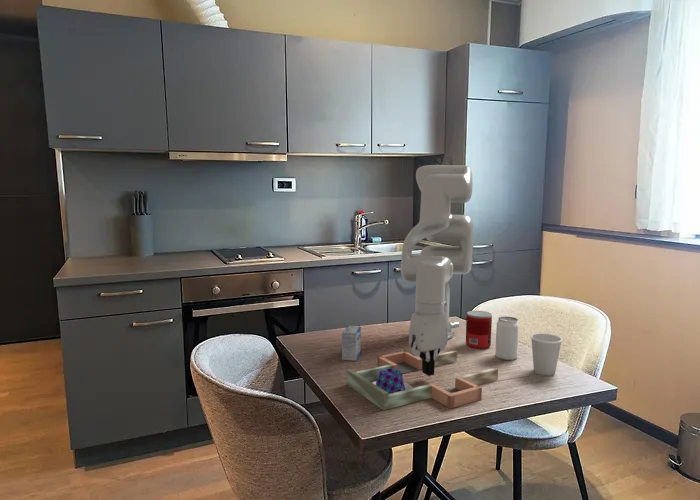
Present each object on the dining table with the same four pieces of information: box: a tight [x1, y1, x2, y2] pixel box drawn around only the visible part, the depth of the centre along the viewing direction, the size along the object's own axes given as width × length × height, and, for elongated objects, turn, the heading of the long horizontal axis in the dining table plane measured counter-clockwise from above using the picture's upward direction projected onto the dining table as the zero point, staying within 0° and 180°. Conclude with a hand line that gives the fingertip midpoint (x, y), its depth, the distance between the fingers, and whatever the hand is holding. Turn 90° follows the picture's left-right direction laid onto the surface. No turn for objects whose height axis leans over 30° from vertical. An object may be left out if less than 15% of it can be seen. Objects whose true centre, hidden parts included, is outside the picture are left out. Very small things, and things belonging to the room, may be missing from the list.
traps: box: [376, 350, 483, 409], centre depth 134 cm, size 10×31×3 cm, turn 30°
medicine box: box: [341, 325, 362, 362], centre depth 153 cm, size 8×4×9 cm, turn 168°
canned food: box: [465, 310, 493, 350], centre depth 163 cm, size 8×8×11 cm
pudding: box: [371, 369, 414, 394], centre depth 128 cm, size 12×12×5 cm
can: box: [495, 316, 520, 361], centre depth 153 cm, size 6×6×12 cm
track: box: [346, 350, 499, 411], centre depth 134 cm, size 37×17×4 cm, turn 120°
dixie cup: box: [530, 332, 563, 376], centre depth 141 cm, size 8×8×10 cm
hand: (428, 373), depth 135 cm, fingers closed
